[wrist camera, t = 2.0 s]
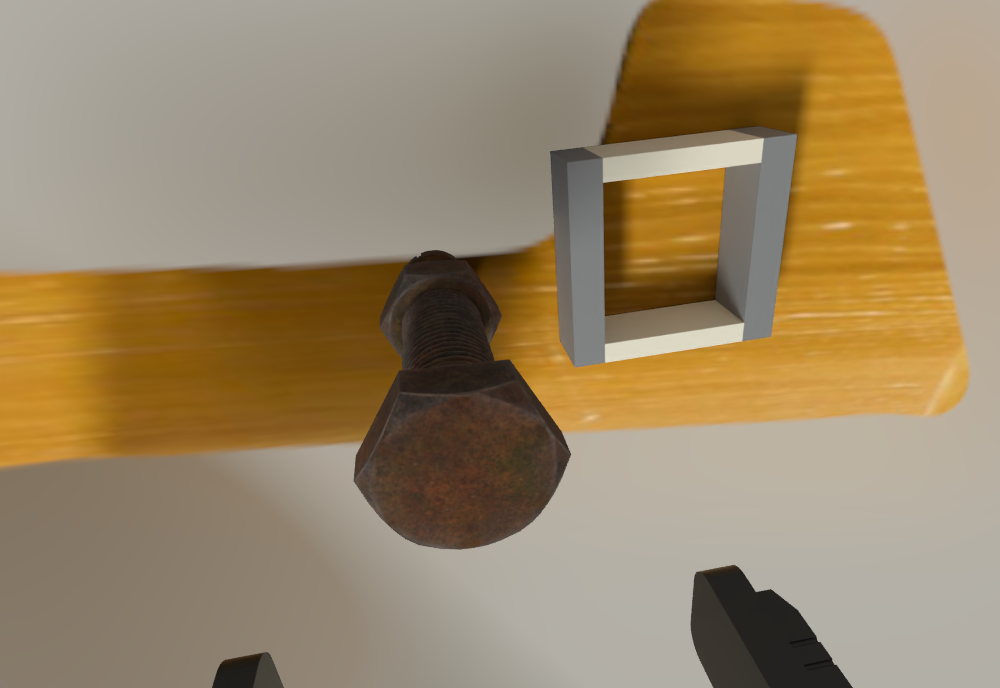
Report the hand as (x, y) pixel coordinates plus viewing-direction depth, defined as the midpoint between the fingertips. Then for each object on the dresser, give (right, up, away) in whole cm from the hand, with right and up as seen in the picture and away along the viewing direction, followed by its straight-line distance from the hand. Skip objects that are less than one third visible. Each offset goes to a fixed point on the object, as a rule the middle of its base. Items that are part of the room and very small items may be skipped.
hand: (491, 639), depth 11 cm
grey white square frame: (+8, +11, +18) cm, 23 cm away
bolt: (-3, +9, +18) cm, 20 cm away
